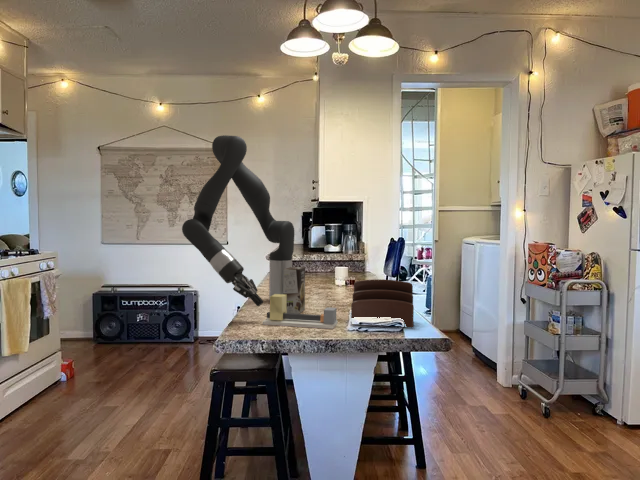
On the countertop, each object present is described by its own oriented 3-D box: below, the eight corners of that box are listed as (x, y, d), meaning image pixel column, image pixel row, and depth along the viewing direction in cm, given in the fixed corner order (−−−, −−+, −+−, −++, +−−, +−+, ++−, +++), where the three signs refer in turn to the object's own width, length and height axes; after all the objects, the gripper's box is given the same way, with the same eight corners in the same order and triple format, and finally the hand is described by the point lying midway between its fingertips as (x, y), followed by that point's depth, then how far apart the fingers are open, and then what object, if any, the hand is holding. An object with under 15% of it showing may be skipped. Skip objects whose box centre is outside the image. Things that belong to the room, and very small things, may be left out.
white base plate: (270, 319, 153) (270, 303, 153) (337, 323, 148) (337, 306, 148) (262, 324, 145) (262, 307, 145) (332, 328, 140) (333, 311, 140)
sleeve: (275, 316, 151) (275, 293, 151) (286, 316, 151) (286, 294, 150) (269, 319, 146) (269, 296, 146) (281, 320, 145) (281, 297, 145)
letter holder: (353, 319, 156) (354, 278, 155) (412, 321, 153) (412, 280, 152) (350, 325, 146) (351, 282, 145) (413, 328, 143) (414, 284, 142)
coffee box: (299, 314, 162) (300, 269, 161) (282, 313, 163) (282, 268, 162) (305, 309, 171) (305, 266, 170) (289, 308, 172) (289, 266, 171)
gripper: (225, 260, 144) (261, 300, 142) (241, 256, 157) (275, 293, 155) (210, 276, 146) (245, 315, 144) (227, 271, 159) (260, 308, 157)
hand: (261, 304), depth 149 cm, fingers closed
